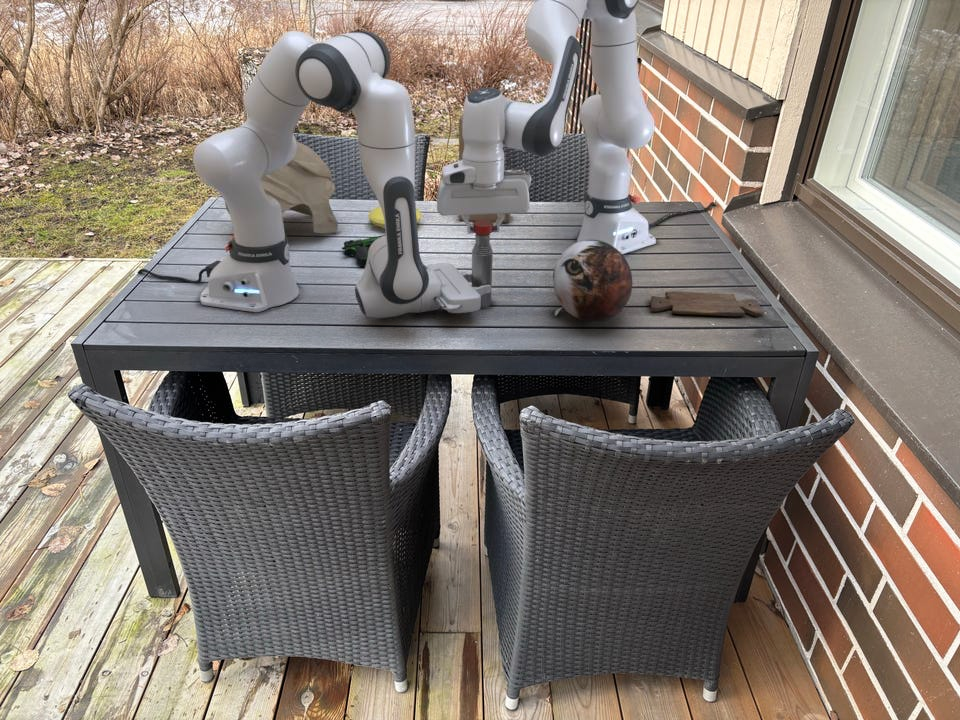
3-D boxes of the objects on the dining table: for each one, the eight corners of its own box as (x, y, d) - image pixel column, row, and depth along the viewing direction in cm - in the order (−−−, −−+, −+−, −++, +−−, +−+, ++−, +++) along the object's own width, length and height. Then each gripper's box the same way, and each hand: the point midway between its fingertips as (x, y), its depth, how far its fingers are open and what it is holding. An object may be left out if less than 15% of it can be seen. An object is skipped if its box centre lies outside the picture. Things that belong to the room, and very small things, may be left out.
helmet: (351, 239, 203) (345, 131, 188) (249, 258, 188) (233, 142, 173) (313, 212, 222) (305, 112, 207) (217, 227, 207) (201, 120, 192)
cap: (472, 228, 161) (472, 220, 160) (491, 227, 161) (491, 219, 160) (474, 235, 157) (474, 227, 156) (494, 234, 157) (494, 226, 156)
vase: (376, 214, 219) (375, 191, 216) (426, 217, 218) (426, 194, 214) (362, 232, 206) (360, 208, 202) (415, 235, 204) (415, 212, 201)
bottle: (492, 300, 169) (495, 231, 160) (488, 309, 165) (490, 238, 157) (473, 298, 170) (475, 229, 161) (469, 306, 166) (470, 236, 157)
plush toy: (529, 271, 171) (588, 211, 162) (582, 317, 175) (643, 261, 167) (526, 311, 151) (593, 245, 143) (586, 361, 156) (655, 300, 148)
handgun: (354, 259, 182) (336, 238, 193) (354, 270, 184) (336, 248, 195) (413, 250, 189) (392, 230, 200) (413, 260, 190) (392, 240, 201)
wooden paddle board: (645, 296, 172) (651, 316, 164) (646, 290, 171) (652, 309, 163) (754, 299, 171) (766, 319, 163) (755, 293, 170) (767, 312, 162)
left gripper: (442, 297, 151) (502, 288, 155) (414, 261, 167) (469, 254, 172) (443, 323, 154) (502, 313, 159) (415, 286, 171) (469, 278, 175)
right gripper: (528, 164, 156) (526, 225, 163) (435, 167, 153) (436, 228, 161) (534, 173, 150) (531, 235, 157) (437, 176, 148) (438, 239, 155)
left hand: (485, 282), depth 165 cm, fingers closed on bottle, 5 cm apart
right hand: (483, 232), depth 159 cm, fingers closed on cap, 4 cm apart
